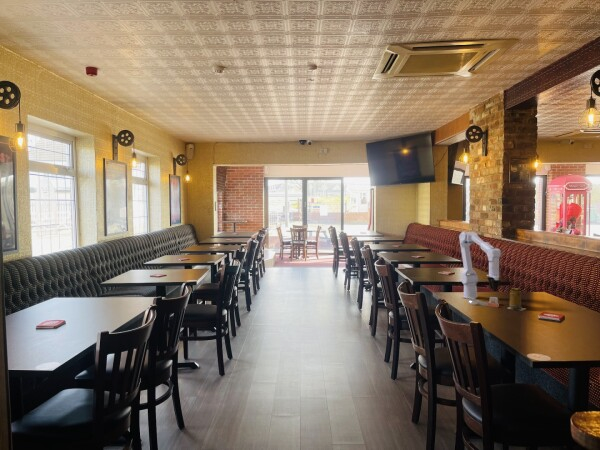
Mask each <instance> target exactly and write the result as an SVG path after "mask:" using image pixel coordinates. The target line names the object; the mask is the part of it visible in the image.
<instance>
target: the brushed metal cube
mask: <svg viewBox="0 0 600 450" xmlns="http://www.w3.org/2000/svg"><path fill="white" fill-rule="evenodd" d="M488 302H491V303H499V298H498V297H497V296H489V301H488Z"/></svg>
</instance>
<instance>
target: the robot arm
mask: <svg viewBox="0 0 600 450" xmlns="http://www.w3.org/2000/svg"><path fill="white" fill-rule="evenodd" d="M458 239H459V246H460V251H461V259H462V263H463V264H462V265H463V271H462V272H461V275H460V276H461V277H460V281H461V283H462V284H463V295H462V296H461V298H463V299H468V300H471V299H472V297H475V299H477V298H479V295H478V288H477V287H478V286H477V284H478V282H479V276H478V275H477V272H476V270H475V269H474V268H473V263H472V261H473V260H472V256H471V250H470V245H472V244H473V243H475V244H477V245H478V246H479V247H480V250H482V251H483V252H484V253H485V254H486V256H487V260H488V274H486V277H487V278H486V279H487V280H488V283H489V288H490V289H491V290H492V291H493V292H498V290H499V285H500V283H501V281H502V280H501V279H499V278H500V258H501V257H502V251H501V249H500V248H496V247H495V246H493V245H491V244H490V242H489V241H487V242H486V241H484V240H483V239H482V238H480V236H479V235H478V233H477V232H476V231H465V232H464V231H462V232H460V234H459V235H458Z"/></svg>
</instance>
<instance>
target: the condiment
mask: <svg viewBox="0 0 600 450" xmlns="http://www.w3.org/2000/svg"><path fill="white" fill-rule="evenodd" d="M508 309H509V310H517V311H524V310H526V308H523V307H522V293H521V288H517V287H511V288H510V293H509V307H508Z"/></svg>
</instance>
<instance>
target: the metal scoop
mask: <svg viewBox="0 0 600 450" xmlns="http://www.w3.org/2000/svg"><path fill="white" fill-rule="evenodd" d="M467 304H468V305H469V306H470V305H472V306H483V307H489V306H490V308H497V307H498V308H499V307H500V303H499V302H498V303H491V302H489V301H488V302H487V301H481V300H479V299H476V298H475V297H472V299H467Z"/></svg>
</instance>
